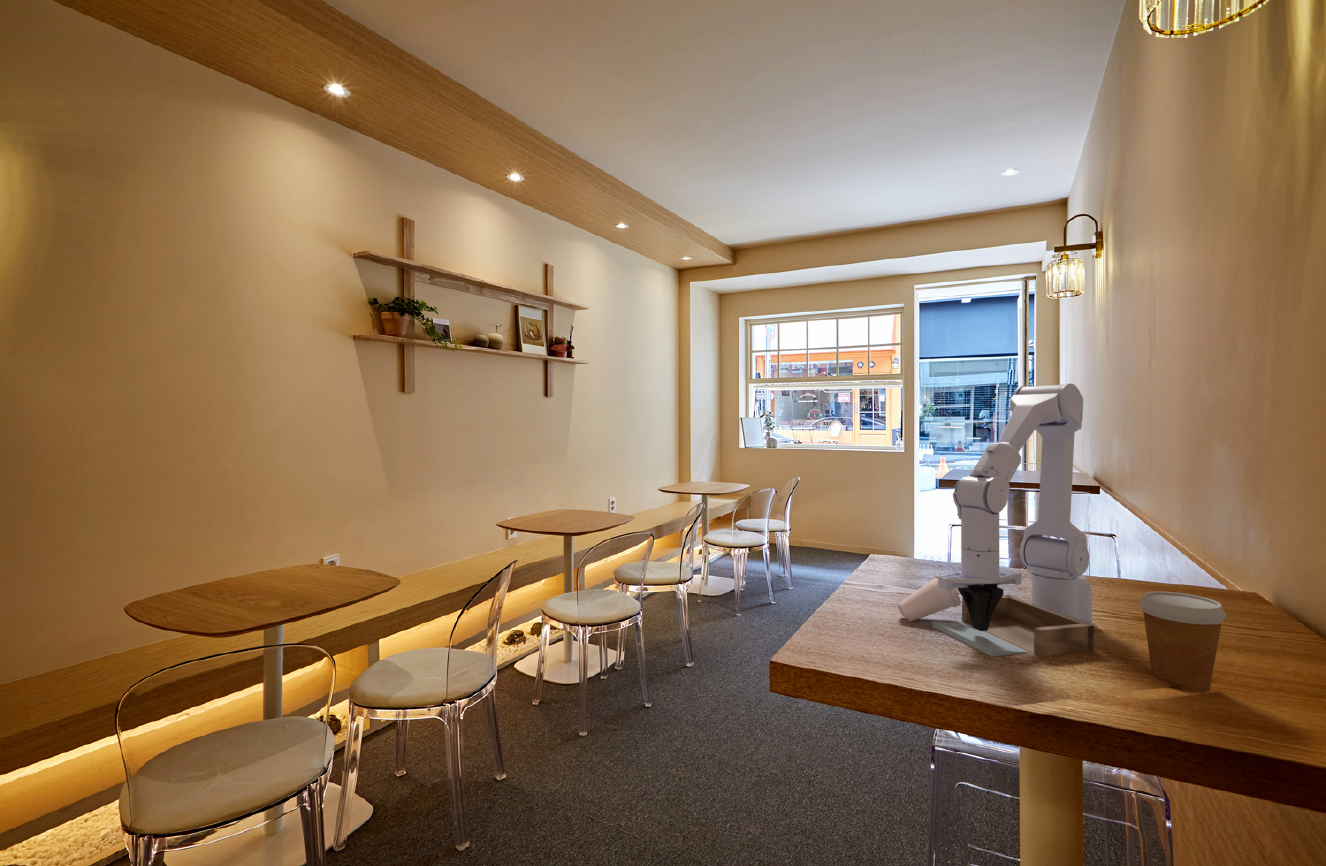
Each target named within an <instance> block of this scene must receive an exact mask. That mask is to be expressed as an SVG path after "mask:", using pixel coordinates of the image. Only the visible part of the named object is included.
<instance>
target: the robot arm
mask: <svg viewBox="0 0 1326 866" xmlns="http://www.w3.org/2000/svg"><path fill="white" fill-rule="evenodd" d="M1010 412H1011V414H1010V417H1009V419H1008V420H1007V423H1006V425H1005V427H1004V429H1003V432H1002V434H1001V436H1000V438H999V439H998V441H997V442H994V443H991V444H989V445H987V447H986V448H985V450H984V452H983V453H982V455H981V457H979V460H978V461H977V463H976V464H975V466H974V468H973V469H972V470H971V473H970V474H969V475H967V476H965V477H962V478H961V479H959V480H958V481H957V482H956V484H955V487H954V492H953V493H952V499H953V503H954V505H955V507H956V509H957V510H956V511H957V517H958V519H959V520H960V524H961V525H960V528H961V529H960V551H961V553H960V554H961V555H960V556H961V557H960V561H961V563H960V564H961V565H960V569H959V571H957V572H954V573H950V574H949V573H948V574H945V575H944V574H942V575H943V576H938V587H939V588H942V589H944V590H951V589H952V588H958V591H957V592H959V593H960V595H961V597H962V599H964V601H965V603H966V606H967V608H968V611H969V615H970V618H971V622H972V625H971V626H973V628H975V629H977V630H979V631H984V632H986V631H988V627H989V624H990V620H991V617H992V614H993V612H994V609H995V607H996V605H997V603H998V602H999V600H1000V599H1001V598H1002V596H1004V589H1003V588H1002V587H998V586H1001V585H1002V586H1003V585H1011V584H1012V585H1015V586H1017V585H1018V586H1019V585H1022V572H1018V571H1015V570H1000V513H1001V512H1002V511H1003V510H1004V509H1005V507H1006V506H1007V503H1008V499H1009V491H1010V487H1011V486H1010V482H1011V480H1012V478H1013V476H1014V475H1015V474H1016V472H1017V469H1018V468H1019V466H1020V465H1021V463H1022V456H1021V453H1020V451H1021V450H1022V448H1023V447H1024V445H1025V444H1026V443H1027V441H1029V439H1030V437H1031V436H1032V434H1033V433H1034V432H1035V431H1036V432H1037V433H1038V434H1039V435H1040V437H1041V439H1042V441H1041V457H1040V458H1041V459H1040V478H1039V497H1038V498H1039V499H1038V516H1037V517H1038V518H1037V520H1036V521H1035V522H1033V523H1031V524H1029V526H1026V527H1025V529H1024V532H1023V533H1024V534H1023V537H1022V538H1023V539H1022V542H1021V544H1020V548H1019V557H1020V560H1021V561H1022V564H1023V565H1024V567H1026V568H1027V572H1028V573H1029V572H1030V573H1031V574H1030V589H1031V590H1030V595H1031V596H1030V601H1031V602H1030V603H1032V604H1035V605H1038V606H1041V607H1044V608H1046V609H1049V610H1052V611H1055V612H1058V613H1060V614H1063V615H1066V616H1069V617H1072V618H1074V619H1077V620H1080V621H1083V622H1086V623H1088V624H1091V625H1094V626H1096V625H1097V623H1096V621H1093V589H1092V585H1091V583H1090V581H1089V580H1088V579H1087V578H1086V577H1085V576H1084V573H1086V572H1087V570H1088V568H1089V565H1090V551H1089V549H1088V538H1087V537H1088V536H1087V535H1086V534H1085V533H1084V532H1083V531H1082V530H1080V529H1079V528H1078V527H1076V526H1075V524H1073V523H1072V522H1071V515H1072V514H1071V513H1072V512H1071V511H1072V496H1073V495H1072V493H1073V477H1074V476H1073V474H1074V473H1073V472H1074V471H1073V470H1074V452H1075V436H1076V435H1075V433H1076V432H1078V431H1079V430H1081V429H1082V425H1083V413H1084V396H1083V395H1082V393H1081V391H1080V389H1079V388H1078V387H1077V386H1076V385H1075V384H1074V383H1066V384H1065V383H1064V384H1050V385H1049V384H1048V385H1047V384H1046V385H1033V386H1032V385H1031V386H1027V385H1020V386H1018V387H1017V388H1016V389H1015V390H1014V392H1013V394H1012V396H1011V397H1010ZM1045 536H1046V537H1045Z"/></svg>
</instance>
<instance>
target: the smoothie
mask: <svg viewBox="0 0 1326 866" xmlns="http://www.w3.org/2000/svg"><path fill="white" fill-rule="evenodd" d="M943 575H944V574H941V573H939V574H937V575H934V577H933V579H931V580H930V581H928V582H927V583H926V584H924V585H923V586H921V587H920V588H919V589H917V590H915V591H914V592H913V593H911V594H910V595H909V596H907V597H906V598H904V599H903V600H901V601H900V602H898V603H897V609H898V610H899V612H900V614H901V616H902V617H903V618H904V619H907V620H908V622H914V621H917V620H920V619H923V618H926V617H928V616H931V615H934V614H936V613H937V614H938V613H940V612H942V611H944V610H945V611H946V610H948V609H950V608H957V607H959V606H961V605H962V599H961V597H960V595H959V593H958V592H959V591H958V588H952V589H951V590H944V589H942V588H939V587H938V576H943Z"/></svg>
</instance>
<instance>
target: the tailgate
mask: <svg viewBox="0 0 1326 866" xmlns="http://www.w3.org/2000/svg"><path fill="white" fill-rule="evenodd" d="M931 627H932V628H933V629H935V630H938V631H939V632H941V633H944V634H946V635H948V636H949V637H951V638H954V639H955V640H957V641H960V642H962V643H963V644H966V645H967V646H969V647H972V648H974V649H976V650H978V651H980V652H981V653H983V654H985V655H987V656H990V657H1000V656H1009V655H1020V654H1030V653H1031V652H1030V651H1027V650H1025V649H1023V648H1021V647H1019V646H1016V645H1014V644H1012V643H1010V642H1008V641H1005V640H1003V639H1001V638H999V637H997V636H994V635H992V634H990V633H988V632H986V631H979V630H977V629H975V628H973V626H972V625H970V624H968V623H966V622H964V623H963V622H960V623H959V622H945V621H944V622H943V621H932V626H931Z"/></svg>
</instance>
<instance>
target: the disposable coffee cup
mask: <svg viewBox="0 0 1326 866" xmlns="http://www.w3.org/2000/svg"><path fill="white" fill-rule="evenodd" d="M1138 605H1139V607H1141V610H1142V612H1143V619H1144V620H1143V621H1144V626H1145V632H1146V633H1145V634H1146V640H1147V641H1146V642H1147V646H1148V649H1147V650H1148V654H1149V661H1150V668H1151V673H1152V675H1154V676H1156V677H1157V678H1159V679H1162V680H1163V681H1166V682H1170V683H1173V684H1178V685H1172V686H1171V685H1170V686H1168V688H1169V689H1172V690H1177V691H1182V692H1186V693H1195V694H1197V693H1198V694H1199V693H1200V694H1203V693H1208V692H1209V691H1210V690H1211V685H1212V678H1213V673H1214V668H1215V662H1216V657H1217V652H1218V645H1219V642H1220V641H1219V639H1220V634H1221V629H1222V628H1221V627H1222V624H1223V623H1224V621H1225V619H1226V618H1227V614H1226V613H1225V612H1224V609H1223V608H1224V607H1223V605H1222V604H1221V602H1218V601H1217V600H1214V599H1211V598H1207V597H1204V596H1199V595H1194V594H1189V593H1182V592H1173V591H1147V592H1144V593H1143V594H1142V597H1141V600H1140V601H1139V602H1138Z"/></svg>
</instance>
